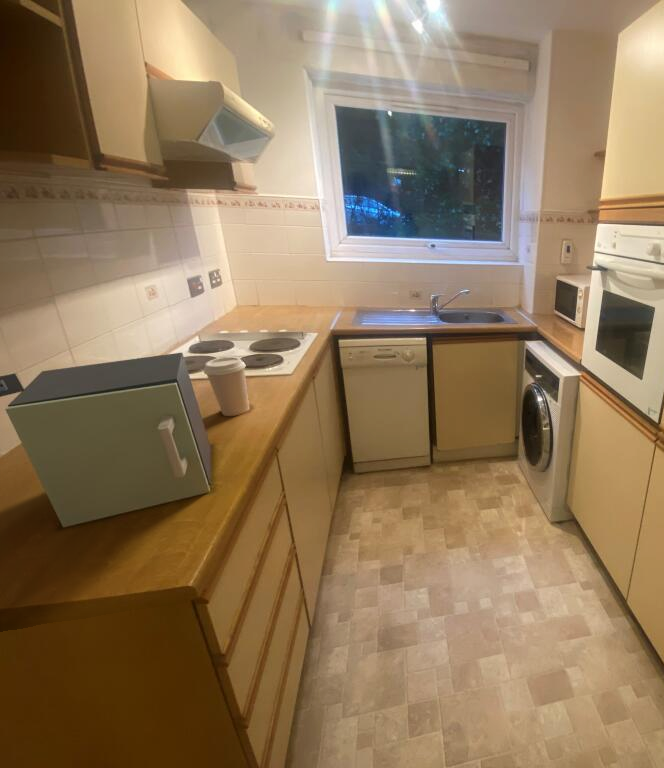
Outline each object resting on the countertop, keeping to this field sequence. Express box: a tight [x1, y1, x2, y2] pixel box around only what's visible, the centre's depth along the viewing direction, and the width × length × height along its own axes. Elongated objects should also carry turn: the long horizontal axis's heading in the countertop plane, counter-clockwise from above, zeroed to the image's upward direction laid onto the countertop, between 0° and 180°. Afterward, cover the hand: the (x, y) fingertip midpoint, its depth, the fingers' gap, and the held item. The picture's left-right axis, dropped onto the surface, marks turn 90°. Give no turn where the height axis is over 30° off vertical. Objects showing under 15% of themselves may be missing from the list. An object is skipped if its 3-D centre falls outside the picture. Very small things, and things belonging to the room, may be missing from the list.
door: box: [4, 383, 211, 528], centre depth 75 cm, size 7×22×24 cm, turn 119°
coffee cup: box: [203, 356, 251, 417], centre depth 118 cm, size 10×10×15 cm
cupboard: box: [7, 352, 211, 486], centre depth 86 cm, size 18×22×24 cm
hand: (14, 383), depth 63 cm, fingers closed
